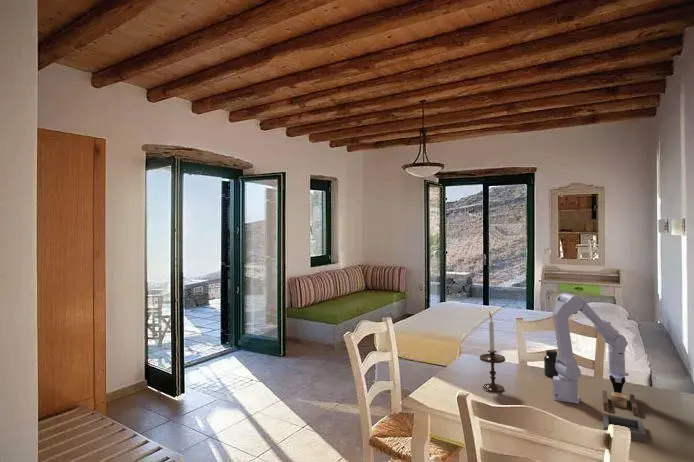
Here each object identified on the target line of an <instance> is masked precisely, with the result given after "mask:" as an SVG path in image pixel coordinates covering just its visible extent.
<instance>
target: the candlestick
mask: <svg viewBox="0 0 694 462" xmlns="http://www.w3.org/2000/svg"><path fill="white" fill-rule="evenodd" d="M488 314H489V317H490V320H489V322H488V328H489V329H488V331H489V332H488V333H489V350H487V352H488V353H484V354H483V353H482V354H480V355H479V360H480V361H482V362H483V363H489V364H490V371H489V375H490V376H489V378H490V379H491V383H490V382H489V383H485V384H483V385H484V386H485V385H486V386H487V385H489V387H488V388H487V387H486V386H485V387H484V386H483V385H482V389H483V388H484V389H486V390H488V391H490V392H489V393H491V392H500V393H502V392H501V391H503V390H505V387H504V386H503V385H501V384H497V383H495V382H496V381H495V380H496V379H497V378H496V377H495V376H496V375H497V371H495V364H500V363H501V364H502V363H504V362H506V357H505V356H504V355H501V354H497V353H498V352H497V350H495V329H494V327H495V325H494V321H493V319H492V318H493V316H492V314H491V312H490V311H489V313H488ZM484 389H483V390H484ZM503 392H504V391H503Z"/></svg>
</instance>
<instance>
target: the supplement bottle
mask: <svg viewBox="0 0 694 462" xmlns="http://www.w3.org/2000/svg"><path fill="white" fill-rule="evenodd" d="M557 356H558V350H554V349H546V351H545V356H543V361H544V362H543V363H544V364H543V370H544V376H546V377H549V378H553V376H558V372H557V370H556V369H555V363H556V357H557Z"/></svg>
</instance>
